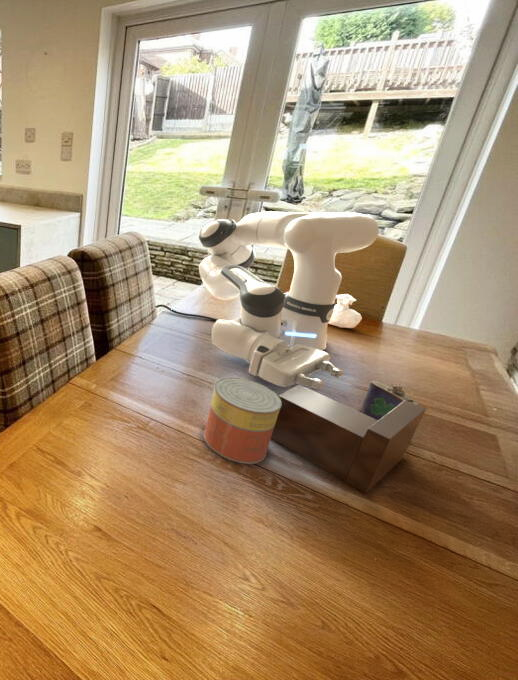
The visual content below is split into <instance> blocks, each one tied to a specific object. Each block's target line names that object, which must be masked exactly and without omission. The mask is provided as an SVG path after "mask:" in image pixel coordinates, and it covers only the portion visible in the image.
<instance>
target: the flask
mask: <svg viewBox="0 0 518 680" xmlns="http://www.w3.org/2000/svg"><path fill="white" fill-rule="evenodd" d="M403 388H406V386H405V385H403V384H400V383H399V384H391V386H389V385H387V384H384V383H382V382H381V381H376V380H373V381H371V382H370V383H369V385H368V389H367V392H366V394H365V397H364V398H363V401H362V404H361V405H360V409H359V410H358V411H359V412H361V413H363V414H365V415H367V416H370V417H372V418H374V419H376V420H380V419H381V418H382V417H384V416H385V415H386V414H387V413H389V412H390V411H391V410H393V409H394V408H395V407H397V406H398V405H399V404H401V403H402V402H403V401H404V400H406V401H408V402H411V403H413V404H416V405H418V406H420V404H419V403H418V402H417V401H416V400H414V399H413V398H412V397H410V396H408V395H406V392H405V391H404V390H403Z"/></svg>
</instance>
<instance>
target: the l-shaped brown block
mask: <svg viewBox="0 0 518 680" xmlns="http://www.w3.org/2000/svg"><path fill="white" fill-rule="evenodd" d="M278 396H279V398H280V399H281V401H282V406H281V408H280V410H279V413H278V417H277V420H276V423H275V426H274V429H273V432H272V436H271V439H270V440H273V441H275V442H276V443H278V444H280V445H282V446H283V447H285V448H287V449H289V450H290V451H292V452H294V453H295V454H297V455H299V456H300V457H302V458H304V459H305V460H307V461H309V462H311V463H312V464H314V465H316V466H318V468H321V469H322V470H324V471H326V472H328V473H329V474H330V475H333V476H334V477H336V478H338V479H339V480H342V481H343V482H344V483H346V484H348V485H350V486H351V487H353V488H355V489H356V490H358V491H360V492H362V493H363V494H366V493H368V492H369V491H370V490H371V489H372V488H373V487H374V486H375V485H376V484H378V482H379V481H381V479H383V478H384V477H385V476H386V475H387V474H388V473H389V472H390V471H391V470H392V469H394V467H395V466H397V465H398V464H399V462H401V461H402V460H403V458H404V456H405V454H406V452H407V449H408V447H409V445H410V443H411V441H412V439H413V437H414V435H415V433H416V431H417V429H418V427H419V425H420V424H421V423H420V422H421V421H422V418H423V416H424V415H425V412H426V410H427V408H426V407H423V406H421V405H419V406H418V405H416V404H413V403H411V402H408V401H406V400H404V401H403V402H402V403H401V404H399V405H398V406H397V407H395V408H394V409H393V410H391V411H390V412H389V413H387V414H386V415H385V416H384V417H382V418H381V419H380V420H376V419H374V418H372V417H370V416H367V415H365V414H363V413H361V412H359V410H356V409H354V408H352V407H350V406H348V405H345V404H343V403H341V402H339V401H337V400H334V399H332V398H330V397H328V396H326V395H324V394H321V393H319V392H317V391H314V390H312V389H310V388H308V387H307V386H304V385H299V384H297V385H295V386H293V387H292V388H290V389H288V390H286V391H284V392H282V393H280V394H279V395H278Z"/></svg>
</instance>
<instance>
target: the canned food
mask: <svg viewBox="0 0 518 680" xmlns="http://www.w3.org/2000/svg"><path fill="white" fill-rule="evenodd" d="M281 406H282V401H281V399H280V398H279V395H278V394H277V393H276V392H275V391H274V390H273V389H271V388H269V387H268V386H266V385H264V384H261V383H259V382H257V381H253V380H250V379H247V378H241V377H223V378H221V379H219V380H217V381H216V382H215V383H214V390H213V395H212V399H211V402H210V407H209V410H208V411H209V412H208V416H207V419H206V424H205V429H204V431H203V440H204V442H205V443H206V445H207V446H208V447H209V448H210V449H211V450H212V451H213V452H215V454H218V455H219V456H221V457H223V458H224V459H227V460H229V461H232V462H235V463H238V464H239V463H240V464H246V465H252V464H259V463H260V462H262V461H264V460H265V458H266V456H267V452H268V449H269V446H270V445H269V444H270V442H271V440H272V439H271V436H272V432H273V429H274V426H275V423H276V420H277V417H278V413H279V410H280V408H281Z"/></svg>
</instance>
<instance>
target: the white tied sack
mask: <svg viewBox="0 0 518 680" xmlns="http://www.w3.org/2000/svg"><path fill="white" fill-rule="evenodd" d="M335 299H336V303H337V304H335V307H334V312H333V315H332V317H331V319H330V321H329V322H328V325H332V326H335V327H338V328H346V329H354V328H356V327H357V326H358V325H359V324H360V323H361V321H362V320H363V317H362V315H361V313H359V312H357V311H356V310H355V309H353V308H350V306H353V303H354V302H356V301H358V300H357V299H356V298H354V297H353V295H350V294H349V293H343V294H337V295H336V298H335Z"/></svg>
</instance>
